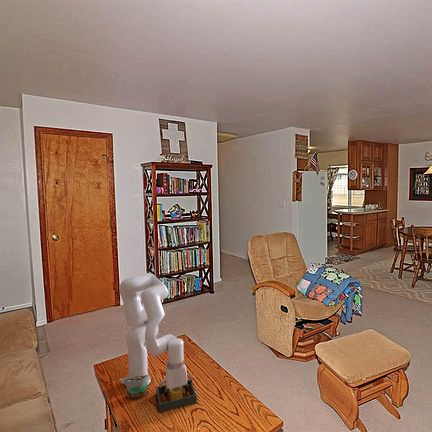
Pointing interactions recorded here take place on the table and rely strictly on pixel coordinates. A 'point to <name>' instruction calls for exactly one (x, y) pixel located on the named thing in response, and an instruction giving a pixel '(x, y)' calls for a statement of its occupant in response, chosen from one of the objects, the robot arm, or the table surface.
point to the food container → (136, 387)
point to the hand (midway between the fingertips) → (176, 395)
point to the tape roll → (176, 393)
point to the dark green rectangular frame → (177, 402)
